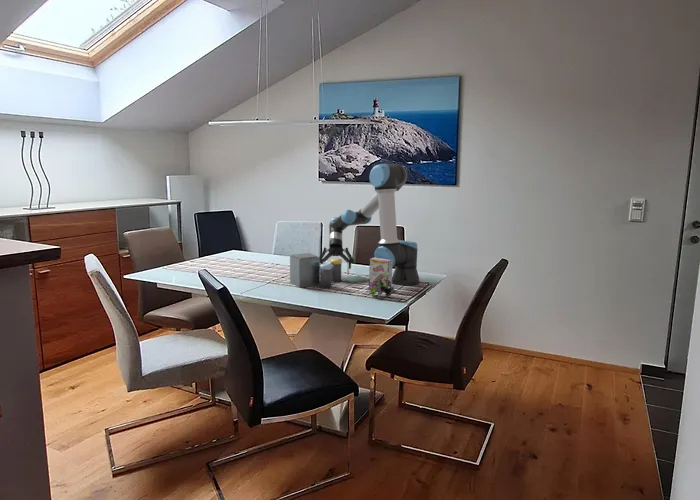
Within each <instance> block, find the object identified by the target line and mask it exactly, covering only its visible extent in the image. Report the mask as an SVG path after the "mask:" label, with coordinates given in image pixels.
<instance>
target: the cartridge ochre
mask: <svg viewBox="0 0 700 500" xmlns="http://www.w3.org/2000/svg"><path fill="white" fill-rule="evenodd" d="M342 260H343V259H341V258H330V263H329V264H332V278H331V283H340V282H342V279H341V277H342V265H343V263H342V262H343V261H342Z"/></svg>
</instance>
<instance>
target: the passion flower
mask: <svg viewBox="0 0 700 500" xmlns="http://www.w3.org/2000/svg"><path fill="white" fill-rule="evenodd" d="M384 280H385V281H386V282H385V281H383V280H382V279H379V281H376V280H374V282H375V285H374V287H373V288H370V287H369V286H368V288H367V291H368V294H371V296H375V295H376V293H377V298H376V300H377V299H379V297H380V296H381V295H382V294H383V293H385V296H387V297H388V295H389V296H392V294H391V293H394V294H395V293H397V291H396V290H395V289H394V286H393V285H392V284H393V283H392V284H390V283H391V282H390V281H389V280H388V279H384ZM391 285H392V286H391ZM376 287H377V288H376ZM379 288H381V291H379Z"/></svg>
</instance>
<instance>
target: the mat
mask: <svg viewBox="0 0 700 500" xmlns="http://www.w3.org/2000/svg"><path fill="white" fill-rule="evenodd" d="M341 280H343V281H345V282H347V283H349V284H353V283H362V282H369V278H366V277H364V276H362V275H360V274H359V275H357V274H356V275H348V276H341Z"/></svg>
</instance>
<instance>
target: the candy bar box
mask: <svg viewBox="0 0 700 500" xmlns="http://www.w3.org/2000/svg"><path fill="white" fill-rule="evenodd" d="M392 264H393V260H388V259H381V258H375V257H371V258H369V275H368V279H369V281H368V288H369V287H370V288H373V287H374V285H375V282H374V280H376V281H379V279H382V280H383V281H385V280H384V279H388V280H389V281H390V282H391V283H390V284H393V282H392V276H393V267H392ZM385 282H386V281H385ZM391 286H392V287H393V285H391ZM376 288H377V287H376ZM379 291H381V288H379ZM379 291H378V292H379ZM381 292H382V291H381Z"/></svg>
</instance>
